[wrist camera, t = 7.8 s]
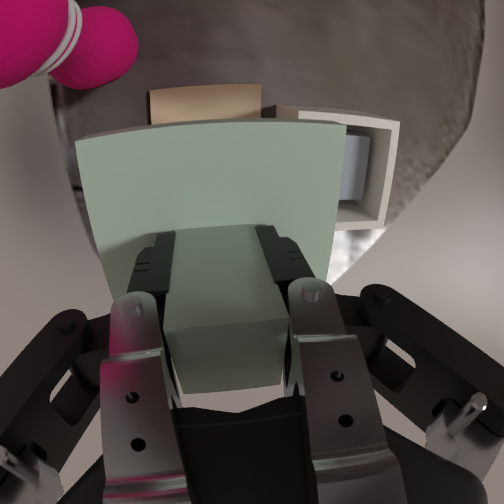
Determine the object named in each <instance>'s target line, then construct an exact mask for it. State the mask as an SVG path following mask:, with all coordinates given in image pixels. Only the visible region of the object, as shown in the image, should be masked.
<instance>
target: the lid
mask: <svg viewBox="0 0 504 504" xmlns="http://www.w3.org/2000/svg"><path fill="white" fill-rule="evenodd" d="M346 128H347V125H344V124H341V123H338V122H335V121H328V120H313V119H290V118H234V119H211V120H195V121H183V122H172V123H162V124H154V125H146V126H138V127H131V128H125V129H118V130H112V131H107V132H101V133H96V134H91V135H86V136H84V137H82V138H80V139H79V140H77V141H75V146H76V153H77V159H78V165H79V171H80V177H81V182H82V187H83V192H84V197H85V202H86V206H87V211H88V215H89V219H90V223H91V227H92V231H93V235H94V239H95V242H96V246H97V250H98V253H99V257H100V260H101V263H102V266H103V270H104V273H105V276H106V279H107V282H108V285H109V288H110V291H111V294H112V297H113V300H114V302H115V301H116V300H117V299H118V298H119V297H121V296H122V295H124V294H126V292H127V289H128V285H129V282H130V278H131V275H132V272H133V268H134V265H135V262H136V258H137V255H138V254H139V253H140V252H141V251H142V250H143V249H144V248H145V247H154V245H155V241H156V237H157V234H160V233H172V232H176V237H175V244H174V252H173V260H172V268H171V277H170V286H169V293H166V303H165V313H164V323H163V331H164V334H165V338H166V341H167V344H168V348H169V351H170V354H171V358H172V361H173V364H174V367H175V370H176V373H177V376H178V379H179V382H180V385H181V388H182V391H183V393H184V394H193V393H208V392H221V391H231V390H240V389H249V388H257V387H265V386H272V385H278V384H280V382H281V376H282V369H283V362H284V355H285V348H286V340H287V333H288V325H289V315H288V312H287V309H286V306H285V304H284V301H283V298H282V295H281V293H280V290H279V287H278V284H275V282H274V279H273V277H272V274H271V271H270V268H269V265H268V263H267V260H266V257H265V254H264V251H263V248H262V246H261V243H260V240H259V237H258V234H257V232H256V229H255V226H269V225H274V227H275V229H276V231H277V233H278V235H279V237H289V238H290V239H292V240H293V241H295V242H296V243H297V244H298V246H299V248H300V250H301V252H302V253H303V255H304V258H305V259H306V260H307V262H308V264H309V266H310V268H311V269H312V271H313V273H314V275H315V277H316V278H317V279H321V280H323V281H325V282H326V278H327V272H328V267H329V261H330V255H331V249H332V243H333V237H334V230H335V224H336V217H337V210H338V202H339V195H340V187H341V178H342V170H343V160H344V150H345V140H346Z"/></svg>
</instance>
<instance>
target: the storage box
mask: <svg viewBox="0 0 504 504" xmlns="http://www.w3.org/2000/svg"><path fill="white" fill-rule="evenodd" d="M276 118H290V119H313V120H328V121H335V122H338V123H341V124H344V125H347V128H346V140H345V150H344V160H343V170H342V178H341V187H340V195H339V202H338V210H337V217H336V224H335V230H334V231H341V230H359V229H378V228H383V225H384V221H385V216H386V211H387V206H388V201H389V196H390V190H391V184H392V178H393V172H394V166H395V159H396V152H397V144H398V136H399V127H400V122H399V121H395V120H392V119H388V118H385V117H381V116H377V115H373V114H369V113H365V112H361V111H353V110H344V109H334V108H323V107H309V106H291V105H276Z"/></svg>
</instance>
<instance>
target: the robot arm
mask: <svg viewBox="0 0 504 504" xmlns="http://www.w3.org/2000/svg"><path fill="white" fill-rule="evenodd" d="M255 229H256V232H257V234H258V237H259V240H260V243H261V246H262V248H263V251H264V254H265V257H266V260H267V263H268V265H269V268H270V271H271V274H272V277H273V279H274V282H275V284H278V287H279V290H280V293H281V295H282V298H283V301H284V304H285V306H286V309H287V312H288V315H289V325H288V333H287V340H286V348H285V355H284V362H283V381H284V397H283V398H278V399H275V400H273V401H270V402H268V403H265V404H262V405H260V406H257V407H254V408H252V409H249V410H246V411H243V412H240V413H231V412H223V411H215V410H208V409H201V408H195V407H190V408H189V407H188V408H183V407H182V403H181V399H180V395H179V390H178V385H177V380H176V376H175V371H174V365H173V361H172V358H171V354H170V351H169V348H168V344H167V341H166V338H165V334H164V331H163V323H164V313H165V303H166V293H169V286H170V277H171V268H172V260H173V252H174V244H175V237H176V232H172V233H160V234H157V237H156V241H155V245H154V247H145V248H144V249H143V250H142V251H141V252H140V253H139V254H138V255H137V258H136V262H135V265H134V268H133V272H132V275H131V278H130V282H129V285H128V289H127V292H126V294H124V295H122V296H121V297H119V298H118V299H117V300H116V301H115V302H114V303H113V305H112V307H111V313H109V314H107V315H105V316H102V317H98V318H94V319H91V320H87V318H86V315H85V314H84V313H83V312H82V311H80V310H77V309H69V310H65V311H63V312H60V313H58V314H57V315H56V316H54V317H53V318H52V319H51V320H50V321H49V322H48V323H47V324H46V325H45V326H44V328H43V329H42V330H41V331H40V332H39V333H38V334H37V335H36V336H35V337H34V338H33V340H32V341H31V342H30V343H29V344H28V345H27V346H26V347H25V348H24V350H23V351H22V352H21V353H20V354H19V356H17V358H16V359H15V360H14V361H13V362H12V364H11V365H10V366H9V367H8V368H7V370H6V371H5V372H4V373H3V375H2V376H1V377H0V504H488V500H487V494H486V490H485V488H484V486H483V484H482V481H483V479H484V478H485V476H486V474H487V472H488V471H489V469H490V467H491V465H492V464H493V462H494V460H495V458H496V457H497V455H498V453H499V451H500V449H501V447H502V445H503V443H504V367H503V366H502V365H500V364H499V363H498V362H496V361H495V360H494V359H492V358H491V357H490V356H488V355H487V354H486V353H484V352H483V351H482V350H480V349H479V348H478V347H476V346H475V345H473V344H472V343H470V342H469V341H468V340H467V339H465V338H464V337H462V336H461V335H460V334H458V333H457V332H455V331H454V330H453V329H451V328H450V327H448V326H447V325H445V324H444V323H443V322H441V321H440V320H438V319H437V318H435V317H434V316H432V315H431V314H429V313H428V312H426V311H425V310H424V309H422V308H421V307H419V306H418V305H416V304H415V303H413V302H412V301H411V300H409V299H407V298H406V297H404V296H403V295H402V294H400V293H398V292H397V291H396V290H394V289H392V288H390V287H388V286H385V285H381V284H371V285H367V286H365V287H364V288H363V289H362V290H361V293H360V297H357V296H346V295H339V294H335V293H334V290H333V288H332V287H331V286H330V285H329V284H328V283H327V282H325V281H323V280H321V279H317V278H316V277H315V275H314V273H313V271H312V269H311V268H310V266H309V264H308V262H307V260H306V259H305V258H304V255H303V253H302V252H301V250H300V248H299V246H298V244H297V243H296V242H295V241H293V240H292V239H290V238H289V237H279V235H278V233H277V231H276V229H275V227H274V225H269V226H255ZM388 339H389V340H391V341H392V342H393V343H395V344H396V345H397V346H399V347H400V348H401V349H402V350H404V351H405V352H406V353H408V354H409V355H410V356H411V357H412V358H413V359H414V361H415V364H416V368H413V367H412V366H411V365H410V364H408V363H407V362H406V361H405V360H403V359H402V358H401V357H399V356H398V355H397V354H396V353H394V352H393V351H392V350H390V349H389V348H388V347H387V346H386V343H387V341H388ZM68 369H69V370H70V372H71V373H72V375H71V376H70V377H69V378H68V380H67V381H66V382H65V384H64V385H63V386H62V388H61V389H60V391H59V392H58V393H57V395H56V396H55V397H54V399H53V400H52V402H51V403H50V394H51V392H52V390H53V389H54V388H55V386H56V385H57V384H58V382H59V381H60V380H61V378H62V377H63V376H64V374H65V373H66V372H67V370H68ZM374 389H375V390H376V391H377V392H378V393H379V394H381V395H382V396H383V397H384V398H385V399H386V400H387V401H388V402H390V403H391V404H392V405H393V406H394V407H395V408H397V409H398V410H399V411H400V412H401V413H403V414H404V415H405V416H406V417H407V418H408V419H409V420H411V421H412V422H413V423H414V424H415V425H416V426H418V427H419V428H420V429H421V430H422V431H424V432H425V433H426V440H427V442H426V443H425V448H424V447H422V446H420V445H418V444H416V443H414V442H412V441H411V440H409V439H407V438H405V437H404V436H402V435H400V434H398V433H397V432H395V431H393V430H391V429H389V428H388V427H386V426H384V425H383V423H382V419H381V416H380V411H379V407H378V404H377V400H376V396H375V393H374ZM99 408H100V410H101V411H100V413H101V434H102V447H103V454H102V455H101V457H99V459H98V460H97V461H96V462H95V463H94V464H93V465H92V466H91V467H90V468H89V469H88V470H87V471H86V472H85V474H84V475H83V476H82V477H81V478H80V479H79V480H78V481H77V482H76V483H75V484H74V485H73V486H72V487H71V488H70V489H69V490H68V491H67V492H66V494H65V495H64V496H63V497H62V498H61V499H60V500H59V501H58V502H57V498H59V497H61V496H62V495H63V492H64V490H63V487H62V485H61V482H60V477H59V472H60V470H61V469H62V467H63V465H64V464H65V462H66V461H67V459H68V457H69V456H70V454H71V453H72V451H73V449H74V448H75V446H76V444H77V443H78V441H79V440H80V438H81V437H82V435H83V433H84V432H85V430H86V429H87V427H88V426H89V424H90V422H91V421H92V419H93V418H94V416H95V414H96V413H97V411H98V410H99Z"/></svg>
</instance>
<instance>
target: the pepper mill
mask: <svg viewBox="0 0 504 504" xmlns="http://www.w3.org/2000/svg"><path fill="white" fill-rule="evenodd" d="M137 53H138V39H137V36H136V34H135V33H134V31H133V28H132V25H131V23H130V21H129V20H128V19H127V18H126V17H125V15H124V14H122V13H120V12H119V11H117V10H115V9H112V8H109V7H104V6H94V7H87V8H83V9H80V8H79V6H78V4H77V3H76V2H75V1H74V0H0V89H2V88H6V87H10V86H12V85H14V84H16V83H18V82H21V81H22V80H25V79H26V78H27V77H29V76H32V77H33V76H40V75H43V74H46V73H48V72H50V74H51V75H52V77H53V78H54V79H55V80H57V81H58V82H59V83H61V84H62V85H64V86H67V87H69V88H74V89H92V88H95V87H98V86H101V85H103V84H105V83H108V82H111V81H114V80H116V79H118V78H120V77H121V76H122V75H124V74H125V73H126V72H127V71H128V70H129V69H130V68H131V66H132V65H133V63H134V61H135V59H136V57H137Z"/></svg>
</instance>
